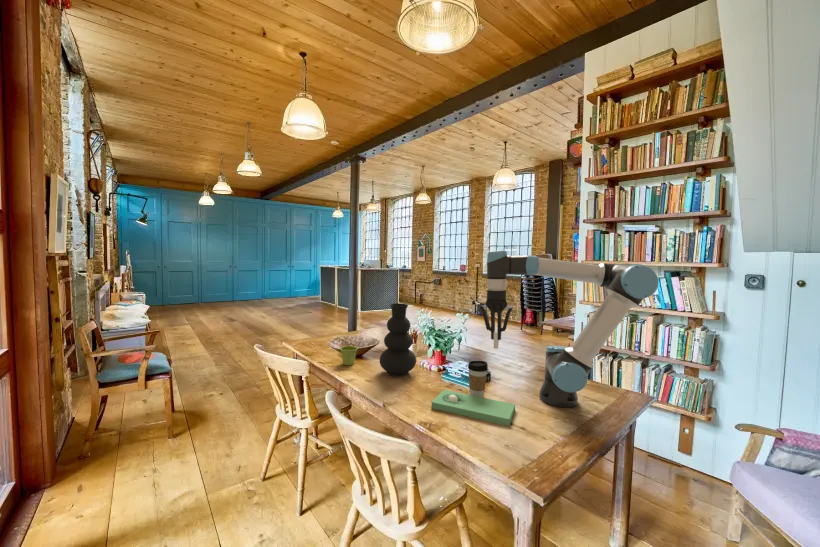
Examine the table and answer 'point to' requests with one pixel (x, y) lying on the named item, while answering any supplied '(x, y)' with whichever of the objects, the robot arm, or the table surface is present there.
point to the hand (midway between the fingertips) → (496, 347)
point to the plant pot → (348, 354)
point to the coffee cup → (477, 377)
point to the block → (475, 407)
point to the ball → (453, 398)
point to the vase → (398, 343)
